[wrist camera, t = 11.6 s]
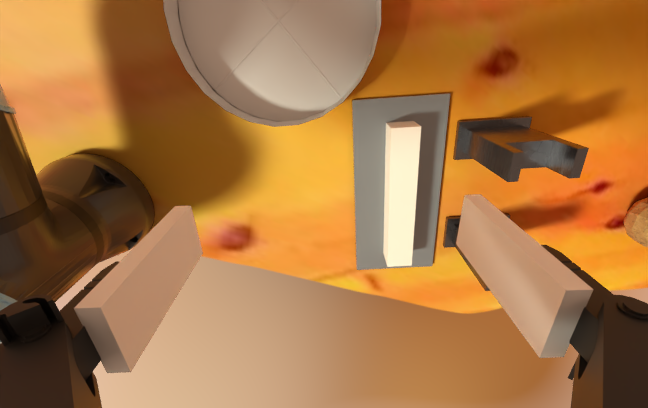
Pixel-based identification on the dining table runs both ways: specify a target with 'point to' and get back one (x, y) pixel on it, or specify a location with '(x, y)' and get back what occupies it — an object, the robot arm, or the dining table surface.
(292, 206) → the dining table surface
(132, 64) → the dining table surface
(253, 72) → the dish
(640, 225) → the potato
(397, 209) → the rail
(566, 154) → the post
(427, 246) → the slate board
